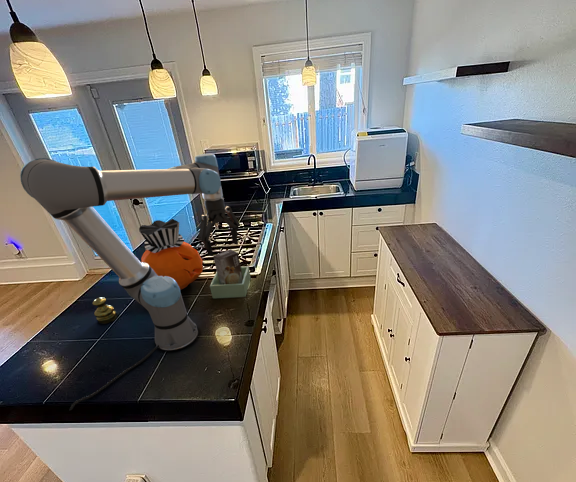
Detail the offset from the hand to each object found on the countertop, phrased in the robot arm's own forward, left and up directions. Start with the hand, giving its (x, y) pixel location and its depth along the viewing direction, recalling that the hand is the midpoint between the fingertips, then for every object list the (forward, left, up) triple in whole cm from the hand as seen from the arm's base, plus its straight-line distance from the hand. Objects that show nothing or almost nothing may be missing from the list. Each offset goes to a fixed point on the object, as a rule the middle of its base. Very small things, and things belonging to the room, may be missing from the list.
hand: (223, 249), depth 133 cm
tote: (0, 0, -19) cm, 19 cm away
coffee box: (+1, 0, -19) cm, 19 cm away
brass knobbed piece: (-46, +26, -19) cm, 56 cm away
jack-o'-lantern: (-12, +25, -19) cm, 34 cm away
